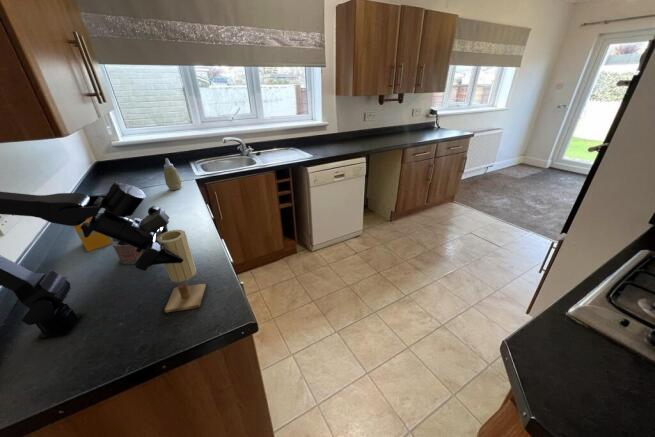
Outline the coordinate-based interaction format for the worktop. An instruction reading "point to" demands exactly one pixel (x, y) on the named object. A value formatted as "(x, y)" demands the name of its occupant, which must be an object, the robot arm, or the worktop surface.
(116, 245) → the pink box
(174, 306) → the stand
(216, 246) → the worktop surface
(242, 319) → the worktop surface
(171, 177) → the squeeze bottle
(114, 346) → the worktop surface
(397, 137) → the worktop surface
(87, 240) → the orange juice
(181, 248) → the cream hollow cylinder
